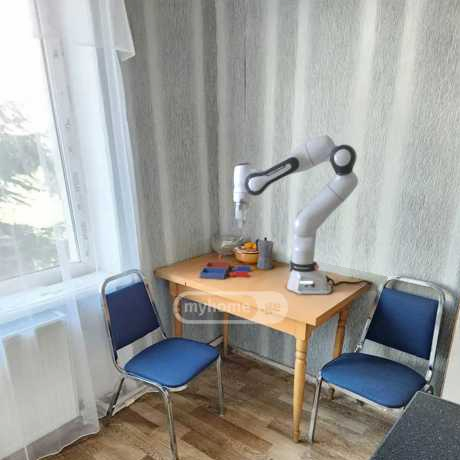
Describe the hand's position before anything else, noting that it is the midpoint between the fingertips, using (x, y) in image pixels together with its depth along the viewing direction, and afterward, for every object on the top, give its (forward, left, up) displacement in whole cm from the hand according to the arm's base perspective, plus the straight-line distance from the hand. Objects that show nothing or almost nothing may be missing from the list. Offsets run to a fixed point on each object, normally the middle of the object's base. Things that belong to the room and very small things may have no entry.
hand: (241, 225), depth 201 cm
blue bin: (+16, -4, -30) cm, 34 cm away
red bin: (+16, -15, -30) cm, 37 cm away
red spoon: (+3, -6, -30) cm, 31 cm away
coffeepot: (-10, -24, -30) cm, 40 cm away
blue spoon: (+3, -15, -30) cm, 34 cm away
